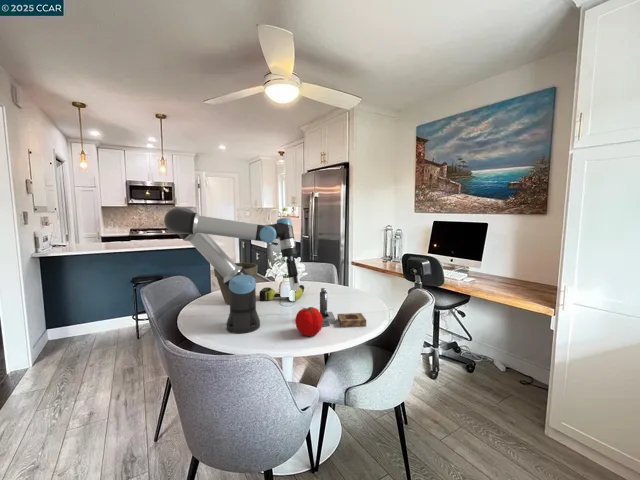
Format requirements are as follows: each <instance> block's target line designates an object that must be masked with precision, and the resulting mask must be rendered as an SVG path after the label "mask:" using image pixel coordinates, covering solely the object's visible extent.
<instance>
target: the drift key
mask: <svg viewBox="0 0 640 480" xmlns="http://www.w3.org/2000/svg"><path fill="white" fill-rule="evenodd" d="M326 327H331V324H329V323H325V324H322V328H326Z"/></svg>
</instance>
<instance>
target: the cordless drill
mask: <svg viewBox="0 0 640 480" xmlns="http://www.w3.org/2000/svg"><path fill="white" fill-rule="evenodd" d="M299 288H300V290H296V291H295V302H296V301H298V300H299V299H300V298H301V297H302V296H303V295H304V294H303V293H304V292H305V291H304V290H305V286H304V285H302V284H299ZM279 292H280V291H279ZM279 292H276V291H275V290H274V289H273V288H271V287H267V286H266V287H263V288H262V289H261V290H260V291H259V301H260V302H267V301H272V300H273V299H274V298H281V297H280V294H279Z"/></svg>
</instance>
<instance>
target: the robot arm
mask: <svg viewBox="0 0 640 480" xmlns="http://www.w3.org/2000/svg"><path fill="white" fill-rule="evenodd" d="M163 222H164V226H165V228H166V229H167V230H168V231H169V232H170V233H173V234H177V235H178V236H179V237H180V238H181V239H182V240H183V241H184V242H189V243H190V244H191V245H192V246H193V247H194V248H195V249H196V250H197V251H198V252H199V253H200V254H201V255H202V256H203V258H204V259H205V260H206V261H207V262H208V263H209V264H210V265H211V266H212V267H213V269H214V268H215V269H216V270H217V271H218V272H219V273H220V275H221V276H222V277H223V278H224V283H225V285H226V286H227V287H228V288H229V291H230V304H229V315H228V317H227V321H226V324H225V325H226V328H225V329H226V331H227V330H228V332H229V331H230V332H229V333H232V332H235V333H234V334H246V333H250V332H251V333H252V332H254V331H256V330H258V329H259V328H260V327H261V320H260V318H259V315H258V312H257V300H256V299H257V297H256V296H257V294H256V293H257V292H256V289H257V288H256V286H257V283H256V277H255V278H254V277H253V276H252V275H251V274H249V273H247V272H246V271H245V270H244V268H243V267H240V266H237V265H236V264H235V263H236V262H234V260H232V259H231V257H229V255H228V254H227V253H226V252H225V251H224V250H223V249H222V247H220V246H219V244H217V242H216V241H215V240H214V239H213V238H212V237H211V236H210V235H212V236H220V237H227V238H233V239H234V238H235V239H241V240H250V241H255V242H263V243H265V244H270V243H272V242H274V241H275V240H276V239H279V243H280V249H281V256H282V257H283V258H286V259H285V260H286V270H287V276H288V281H289V287H290V291H291V290H294V291H295V290H300V288H299V286H300V284H299V283H300V282H299V277H298V275H299V273H298V269H297V268H298V267H297V264H296V260H295V256H297V254H298V252H297V247H296V243H297V241H296V240H295V234H294V228H293V223H292V219H291V218H289V217H282V218H279V219H277V220H276V223H273V224H264V225H263V224H257V223H251V222H244V221H237V220H231V219H225V218H216V217H211V216H204V215H203V216H202V215H200V214H199V212H194V210H192V209H189V208H186V207H174V208H171V209H169V210H167V212H166V213H165V215H164V217H163Z"/></svg>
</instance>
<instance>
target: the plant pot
mask: <svg viewBox="0 0 640 480" xmlns="http://www.w3.org/2000/svg"><path fill="white" fill-rule="evenodd" d="M234 263H235V264H236V265H237V266H240V267H243V268H244V270H245V271H246V272H247V273H249V274H251V275H252V276H253V277H254V278H255V279H256V277H257V274H258V264H256V263H253V262H234ZM213 270H214V271H213V273H214V277H215V278H216V280H217V283H218V286H219V289H220V292H221V295H222V299H223V300H224V303H225V304H226V303H227V304H226V305H230V291H229V288H228V287H227V286H226V285H225V283H224V278H223V277H222V276H221V275H220V273H219V272H218V271H217V270H216V269H215V268H214V267H213Z"/></svg>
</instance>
